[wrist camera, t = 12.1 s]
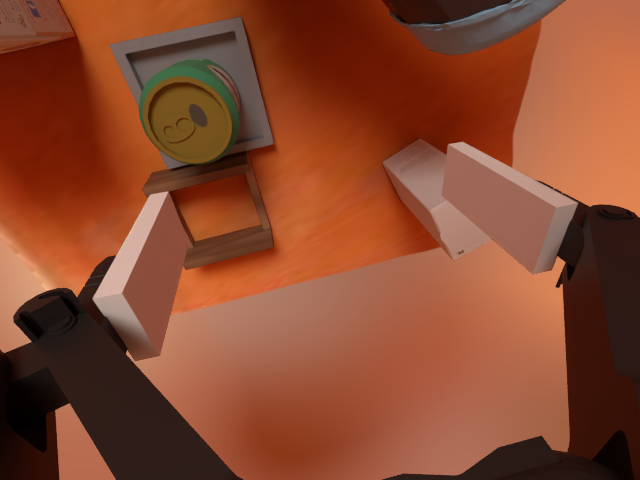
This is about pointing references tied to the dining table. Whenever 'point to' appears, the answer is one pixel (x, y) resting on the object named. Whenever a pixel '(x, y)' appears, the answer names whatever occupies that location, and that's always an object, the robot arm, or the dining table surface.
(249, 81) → the tray
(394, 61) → the dining table surface
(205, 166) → the caddy
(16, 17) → the cracker box
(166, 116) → the beverage can
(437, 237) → the skincare box
